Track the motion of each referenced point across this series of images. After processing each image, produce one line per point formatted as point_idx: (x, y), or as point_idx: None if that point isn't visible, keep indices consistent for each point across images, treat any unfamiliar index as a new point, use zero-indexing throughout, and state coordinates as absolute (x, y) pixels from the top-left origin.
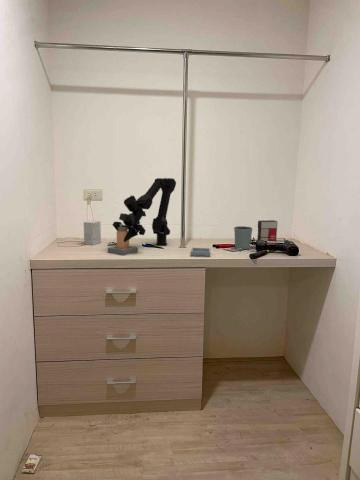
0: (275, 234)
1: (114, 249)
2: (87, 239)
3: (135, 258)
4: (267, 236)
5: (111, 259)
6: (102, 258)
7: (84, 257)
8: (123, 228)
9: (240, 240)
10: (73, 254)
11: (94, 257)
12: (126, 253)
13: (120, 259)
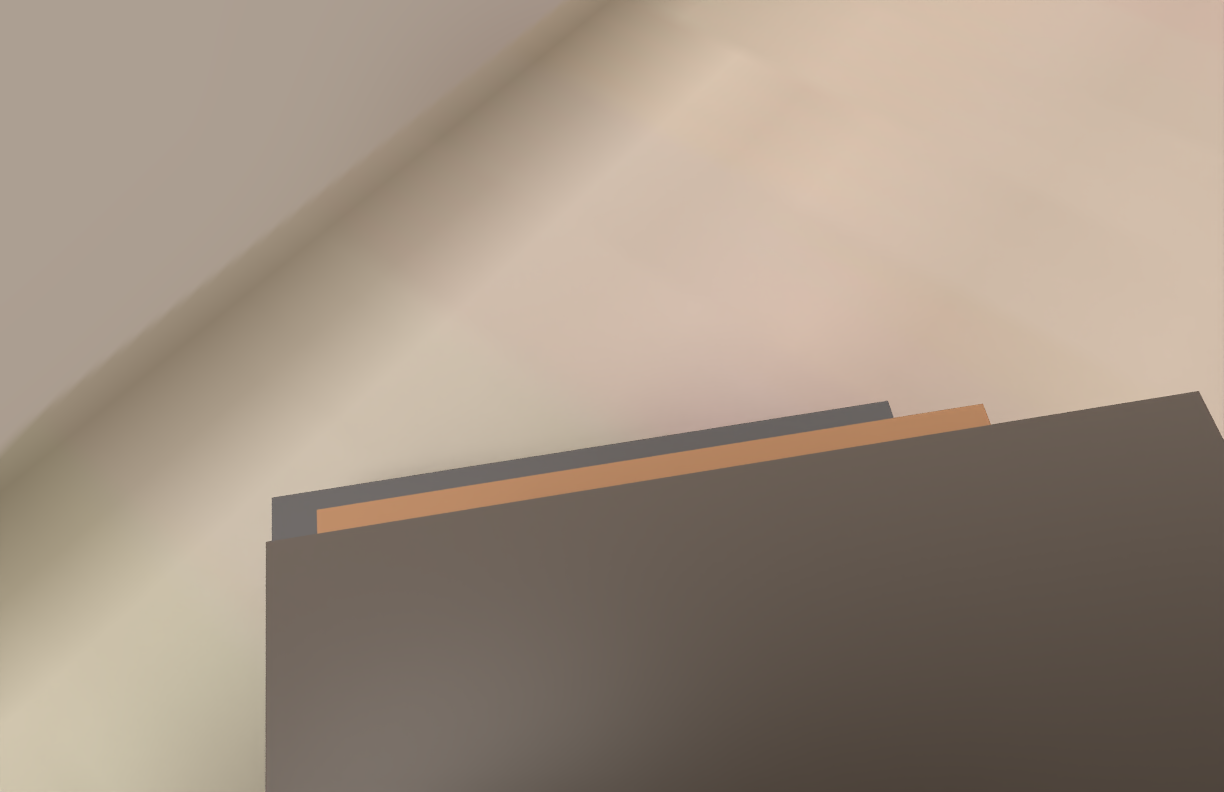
0: None
1: (627, 446)
2: None
3: (33, 693)
4: None
5: (395, 260)
6: (580, 195)
7: (843, 46)
8: (317, 784)
9: None
10: (1157, 37)
11: (742, 145)
12: None
13: (256, 379)
